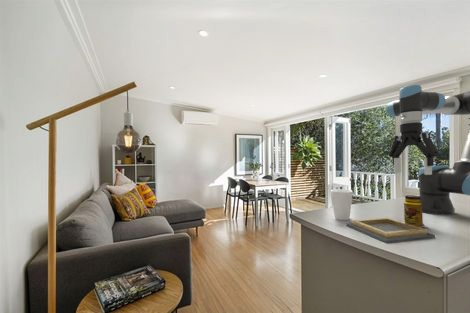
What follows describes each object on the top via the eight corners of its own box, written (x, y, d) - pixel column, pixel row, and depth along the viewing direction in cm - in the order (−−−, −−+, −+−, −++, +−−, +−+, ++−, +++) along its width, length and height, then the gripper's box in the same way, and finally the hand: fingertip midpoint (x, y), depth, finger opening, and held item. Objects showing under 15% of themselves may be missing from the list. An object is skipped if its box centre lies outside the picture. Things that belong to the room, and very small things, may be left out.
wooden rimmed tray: (387, 222, 101) (387, 216, 101) (434, 237, 81) (434, 230, 81) (346, 225, 97) (346, 219, 97) (386, 242, 78) (385, 235, 78)
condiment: (405, 226, 95) (404, 196, 95) (400, 220, 103) (399, 193, 103) (427, 228, 92) (426, 197, 92) (420, 222, 100) (420, 194, 100)
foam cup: (333, 220, 106) (332, 191, 106) (329, 215, 115) (329, 189, 115) (355, 221, 103) (355, 192, 104) (350, 216, 112) (350, 189, 113)
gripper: (379, 126, 109) (380, 172, 109) (434, 117, 85) (435, 175, 85) (392, 127, 111) (393, 171, 111) (450, 118, 86) (451, 175, 86)
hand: (411, 173), depth 98 cm, fingers open, 13 cm apart
